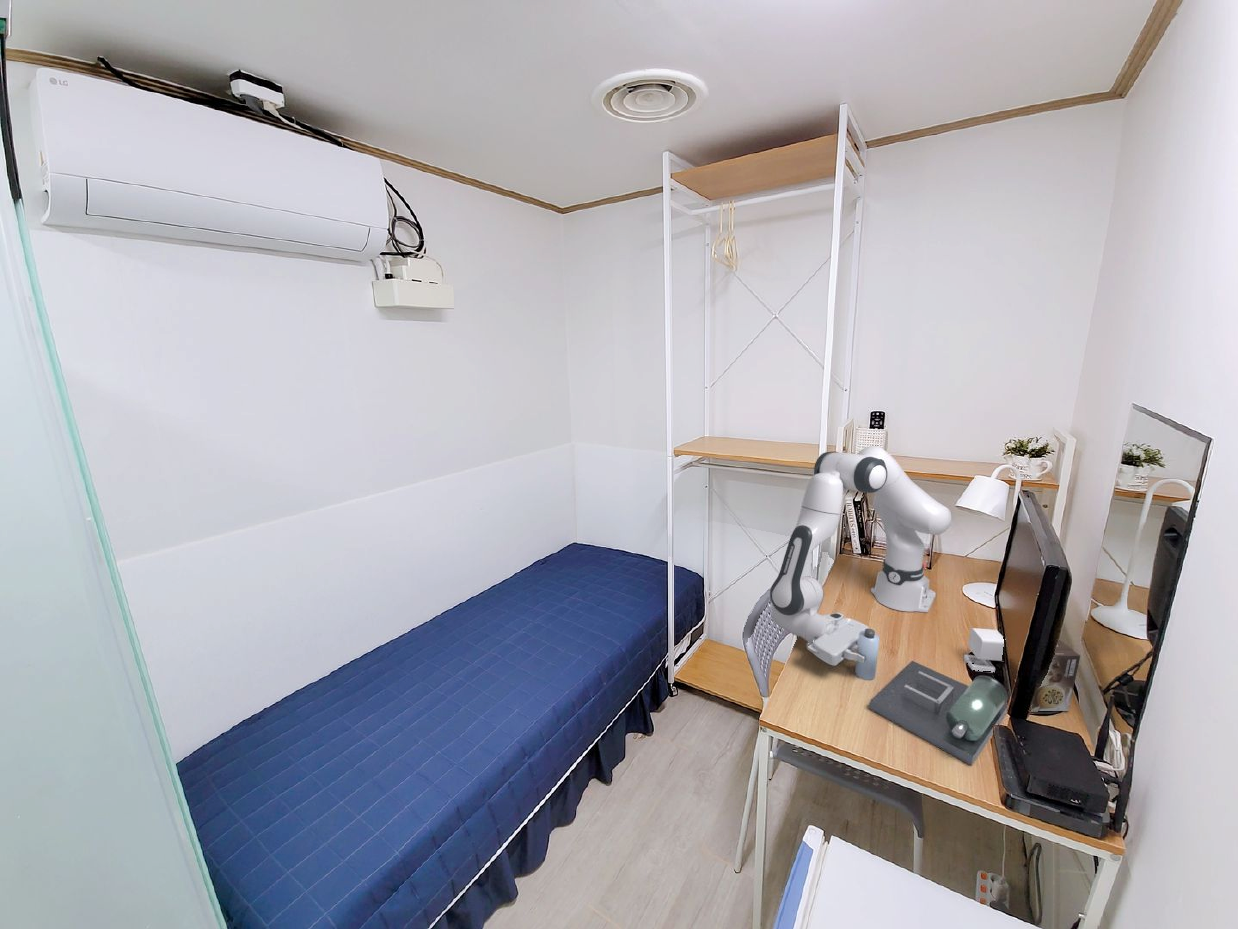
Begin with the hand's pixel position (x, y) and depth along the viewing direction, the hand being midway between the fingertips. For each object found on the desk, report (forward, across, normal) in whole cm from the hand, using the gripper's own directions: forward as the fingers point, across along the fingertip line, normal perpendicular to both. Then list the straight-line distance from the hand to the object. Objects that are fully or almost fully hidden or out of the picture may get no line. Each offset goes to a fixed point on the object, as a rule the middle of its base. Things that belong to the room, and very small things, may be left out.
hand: (870, 654), depth 134 cm
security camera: (+18, +28, +7) cm, 34 cm away
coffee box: (+32, +22, +7) cm, 40 cm away
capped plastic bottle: (-1, 0, +7) cm, 7 cm away
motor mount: (+17, 0, +7) cm, 18 cm away
